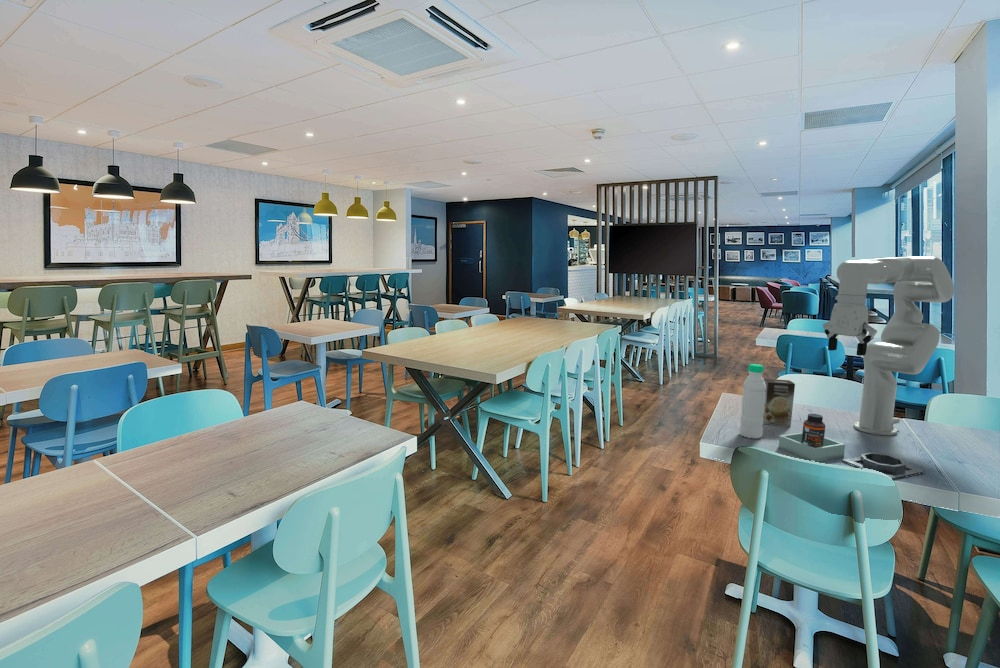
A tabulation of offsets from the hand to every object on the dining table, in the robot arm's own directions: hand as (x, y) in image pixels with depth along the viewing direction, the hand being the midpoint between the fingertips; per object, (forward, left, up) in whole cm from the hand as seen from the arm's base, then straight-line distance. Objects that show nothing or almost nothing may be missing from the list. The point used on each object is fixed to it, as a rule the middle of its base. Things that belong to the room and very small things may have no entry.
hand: (846, 352), depth 168 cm
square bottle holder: (+8, +20, -30) cm, 37 cm away
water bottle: (+23, -14, -31) cm, 41 cm away
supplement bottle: (+17, +4, -30) cm, 34 cm away
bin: (+17, +4, -30) cm, 35 cm away
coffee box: (+3, -22, -31) cm, 38 cm away
